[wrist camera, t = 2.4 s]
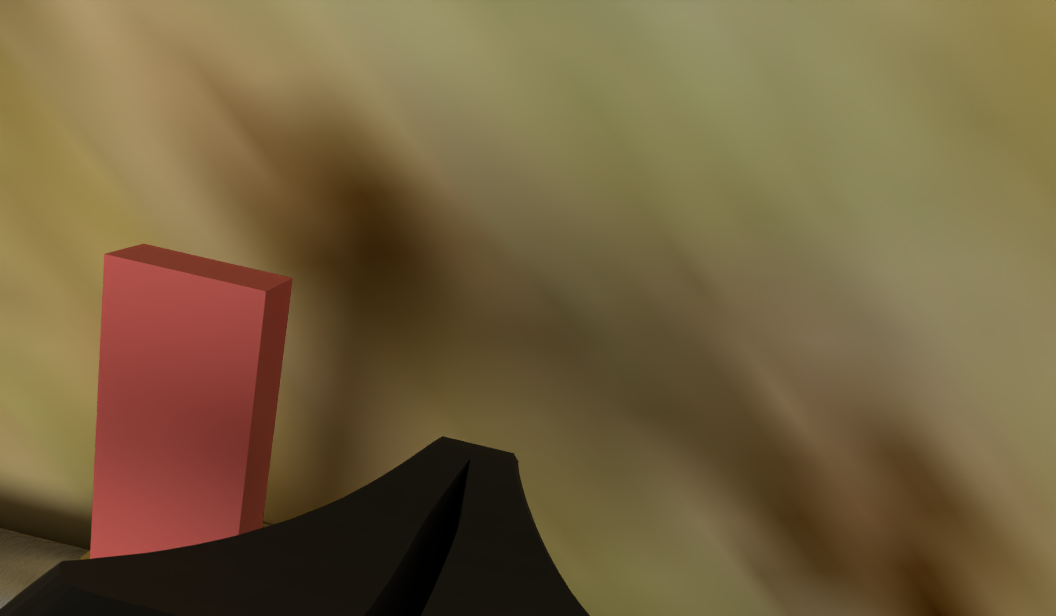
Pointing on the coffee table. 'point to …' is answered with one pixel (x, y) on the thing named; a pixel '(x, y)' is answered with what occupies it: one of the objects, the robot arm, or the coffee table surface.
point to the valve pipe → (31, 560)
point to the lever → (184, 399)
